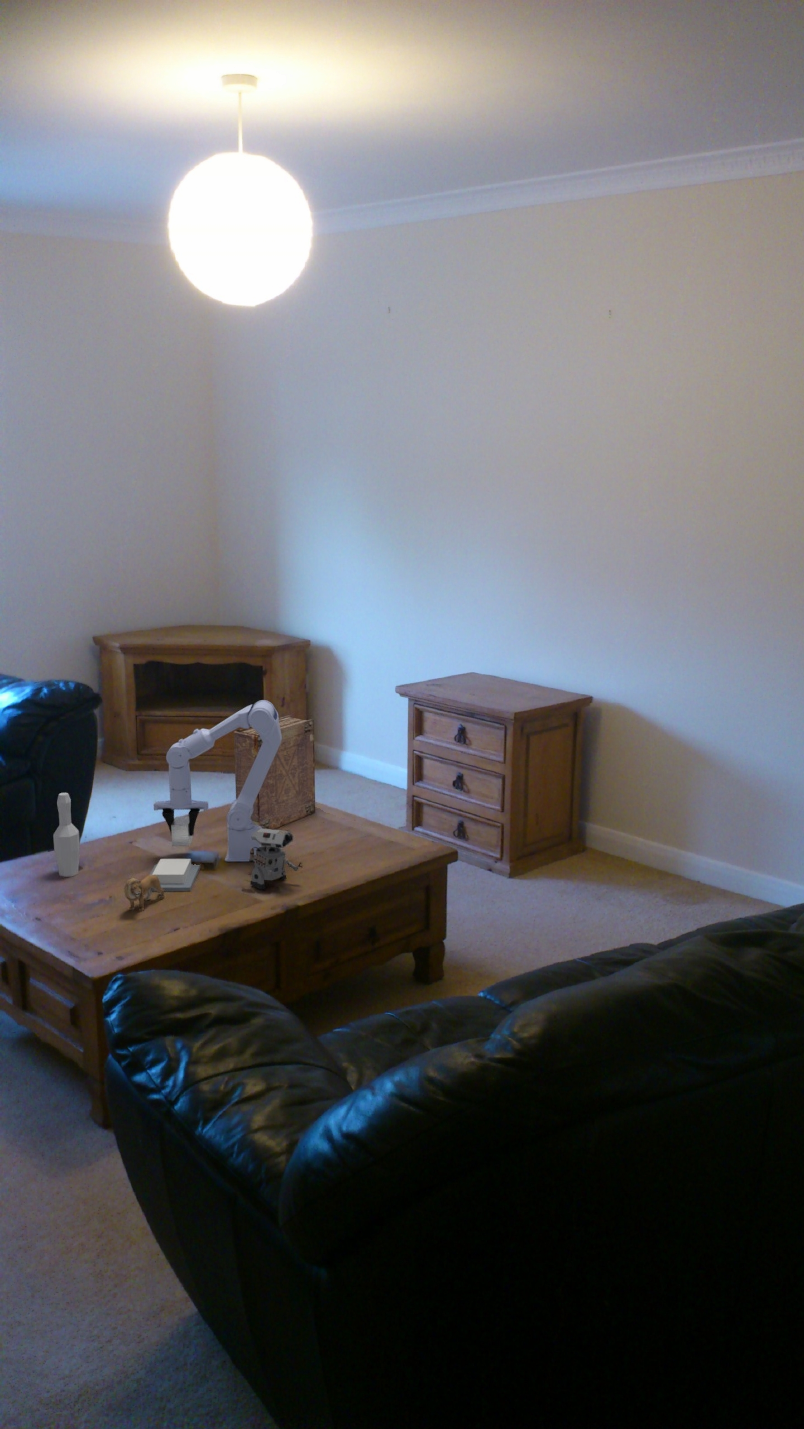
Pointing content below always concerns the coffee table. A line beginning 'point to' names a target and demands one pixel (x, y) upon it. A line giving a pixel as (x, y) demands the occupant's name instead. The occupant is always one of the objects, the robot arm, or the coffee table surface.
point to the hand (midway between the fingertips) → (182, 834)
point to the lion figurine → (141, 890)
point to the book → (280, 773)
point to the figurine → (270, 856)
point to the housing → (181, 832)
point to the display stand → (175, 874)
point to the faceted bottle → (66, 839)
